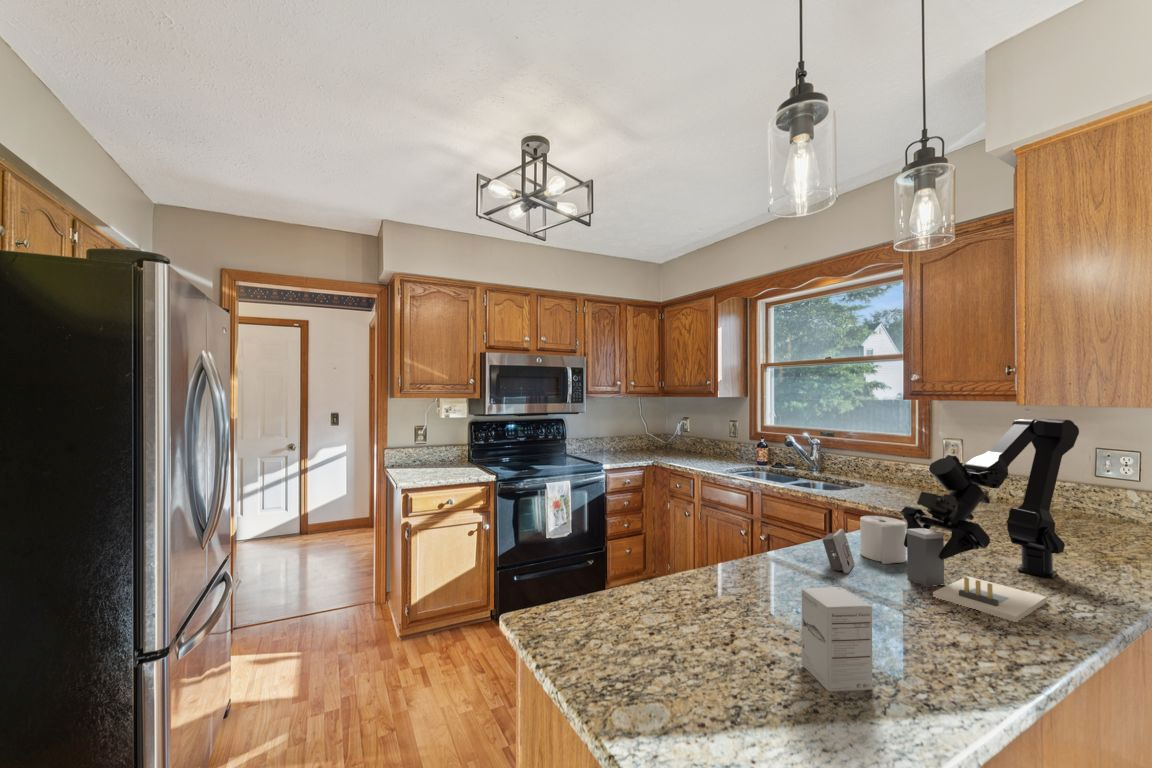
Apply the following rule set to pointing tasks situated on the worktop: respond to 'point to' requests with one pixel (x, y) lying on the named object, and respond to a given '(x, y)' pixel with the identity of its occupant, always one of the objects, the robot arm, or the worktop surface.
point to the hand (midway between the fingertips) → (922, 551)
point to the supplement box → (837, 638)
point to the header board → (991, 598)
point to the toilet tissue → (883, 539)
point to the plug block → (925, 556)
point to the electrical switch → (838, 551)
